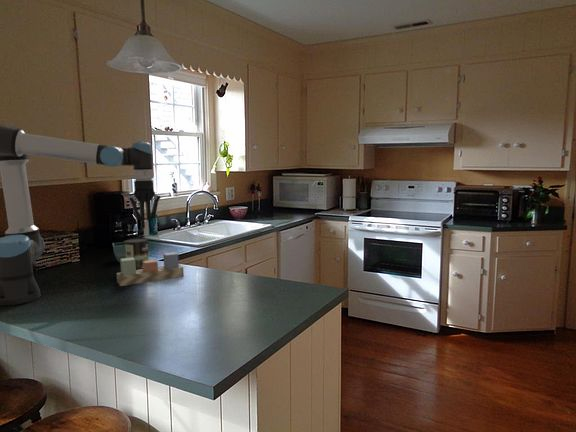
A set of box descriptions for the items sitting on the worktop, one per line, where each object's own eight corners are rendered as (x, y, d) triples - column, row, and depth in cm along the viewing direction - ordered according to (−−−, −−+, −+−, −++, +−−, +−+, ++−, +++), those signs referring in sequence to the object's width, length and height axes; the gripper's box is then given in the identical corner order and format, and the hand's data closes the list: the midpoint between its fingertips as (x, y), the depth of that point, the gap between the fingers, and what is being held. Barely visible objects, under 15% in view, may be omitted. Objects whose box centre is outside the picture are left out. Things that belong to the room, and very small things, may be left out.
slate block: (167, 271, 189) (166, 255, 188) (164, 268, 193) (163, 253, 192) (178, 269, 192) (178, 253, 191) (175, 267, 196) (174, 251, 195)
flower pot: (113, 260, 226) (112, 243, 225) (131, 258, 230) (130, 241, 229) (114, 263, 218) (113, 245, 217) (133, 261, 222) (132, 244, 221)
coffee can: (152, 267, 210) (150, 238, 208) (145, 272, 199) (143, 242, 198) (131, 267, 210) (129, 238, 208) (122, 273, 200) (120, 242, 198)
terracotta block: (146, 279, 185) (145, 263, 184) (143, 276, 189) (142, 260, 188) (158, 277, 187) (157, 261, 186) (155, 275, 192) (154, 259, 191)
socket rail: (120, 286, 178) (119, 276, 178) (117, 282, 184) (116, 273, 184) (183, 276, 192) (183, 267, 191) (178, 272, 198) (178, 264, 197)
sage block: (123, 277, 180) (122, 261, 179) (121, 275, 184) (120, 258, 183) (136, 275, 182) (135, 259, 181) (133, 273, 187) (132, 257, 186)
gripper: (129, 180, 176) (132, 238, 179) (161, 179, 183) (164, 235, 186) (125, 180, 183) (128, 235, 186) (157, 179, 189) (159, 233, 192)
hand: (146, 235), depth 186 cm, fingers closed
